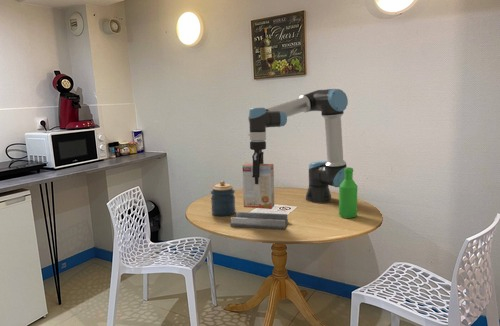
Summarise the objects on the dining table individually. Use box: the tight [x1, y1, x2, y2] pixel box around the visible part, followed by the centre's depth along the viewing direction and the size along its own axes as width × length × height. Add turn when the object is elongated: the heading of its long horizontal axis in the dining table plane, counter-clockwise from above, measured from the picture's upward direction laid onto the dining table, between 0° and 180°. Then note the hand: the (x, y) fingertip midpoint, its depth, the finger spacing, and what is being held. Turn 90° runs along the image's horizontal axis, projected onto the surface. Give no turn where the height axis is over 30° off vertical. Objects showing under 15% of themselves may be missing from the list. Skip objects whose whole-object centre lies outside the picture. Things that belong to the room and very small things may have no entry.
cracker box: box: [242, 162, 275, 210], centre depth 164 cm, size 14×6×21 cm, turn 71°
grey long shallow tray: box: [230, 211, 289, 231], centre depth 167 cm, size 26×12×4 cm, turn 76°
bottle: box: [338, 167, 358, 219], centre depth 174 cm, size 9×9×25 cm
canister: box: [210, 180, 236, 217], centre depth 185 cm, size 13×13×18 cm
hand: (258, 188), depth 165 cm, fingers closed on cracker box, 6 cm apart
